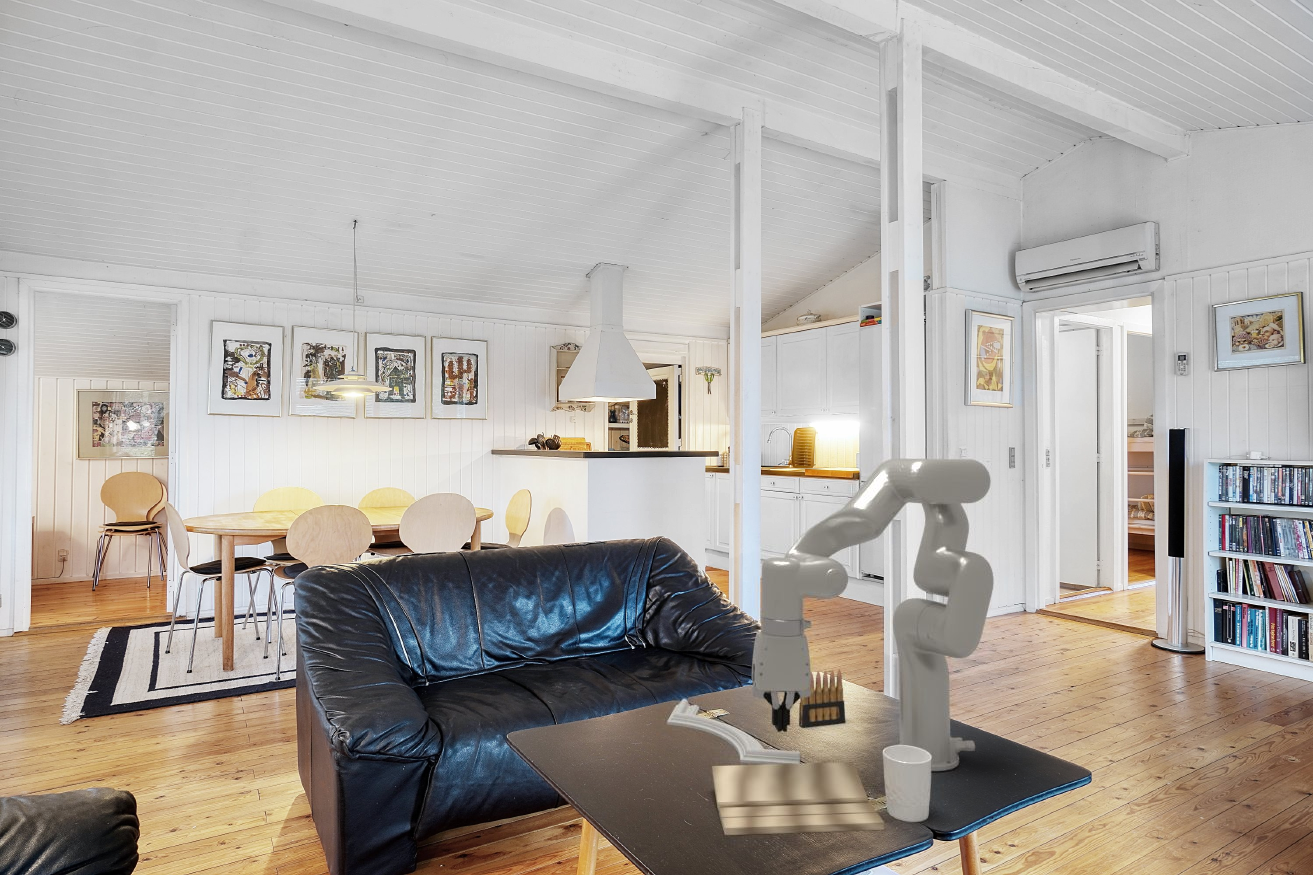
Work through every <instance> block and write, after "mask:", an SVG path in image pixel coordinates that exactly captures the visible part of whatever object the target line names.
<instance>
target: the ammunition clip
mask: <svg viewBox="0 0 1313 875" xmlns="http://www.w3.org/2000/svg"><path fill="white" fill-rule="evenodd" d="M842 677H843V676H842V672H841V669H840V668H838V669H837V672H836V676H835V672H834V670H833V669H831V670H830V675H829V677H828V673H827V670H824V671H823V675H822V679H821V674H820V671H817V673H816V676H815V677H814V675H813V672H812V671H811V685H810V690H811V696H809V697H805V698H800V699H799V700H800V702H799V706H798V707H799V712H798V713H799V714H798V715H799V716H798V725H799V727H801V728H802V729H807V728H816V727H826V726H833V725H843V724H846V712H845V711H846V709H845V707H846V706H845V700H844V688H843V687H844V686H843V678H842ZM814 678H815V680H814ZM828 678H829V679H828Z"/></svg>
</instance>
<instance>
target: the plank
mask: <svg viewBox="0 0 1313 875" xmlns="http://www.w3.org/2000/svg"><path fill="white" fill-rule="evenodd" d="M855 765H856V764H855V762H854V761H839V762H834V761H833V762H807V763H804V762H803V763H801V762H800V764H744V765H743V764H742V765H737V764H735V765H734V764H733V765H712V766H711V774H712V779H713V781H712V782H713V787H714V794H715V801H716V806H717V811H718V812H719V808H731V807H761V806H792V805H822V804H852V803H870V802H869V801H870V800H869V798H868V796H867V793H866V791H865V788H864V785H863V783H862V781H861V778H860V776H859V773H858V770H857V767H856V766H855Z"/></svg>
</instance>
